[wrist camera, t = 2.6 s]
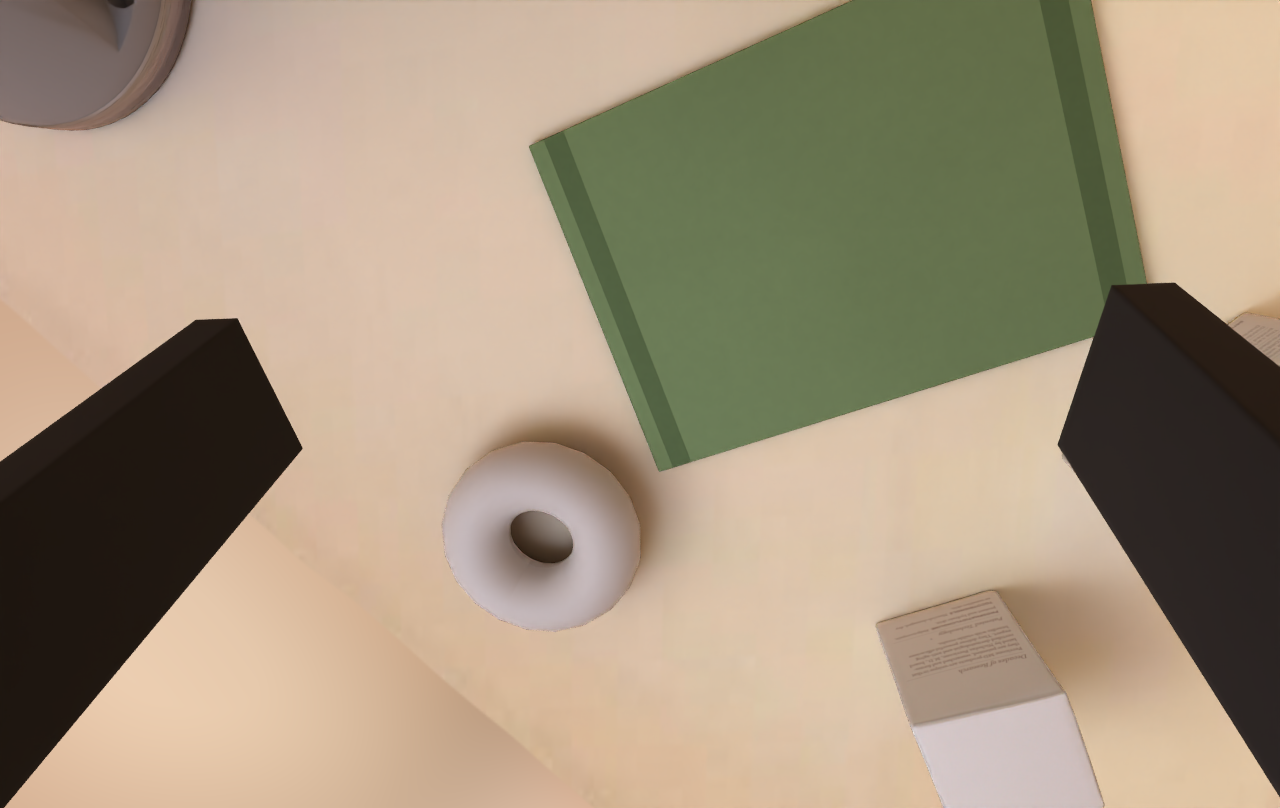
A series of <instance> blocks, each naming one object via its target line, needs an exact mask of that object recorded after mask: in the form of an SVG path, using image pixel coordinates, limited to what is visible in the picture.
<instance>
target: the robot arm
mask: <svg viewBox="0 0 1280 808" xmlns="http://www.w3.org/2000/svg"><path fill="white" fill-rule="evenodd" d="M190 5H191V0H0V120H2V121H5V122H9V123H12V124H18V125H23V126H30V127H39V128H48V129H57V130H71V131H72V130H87V129H93V128H98V127H102V126H105V125H108V124H111V123H114V122H116V121H118V120H120V119H122V118H124V117H126V116H128V115H129V114H131V113H132V112H134V111H135V110H137V109H138V108H139V107H140V106H142V105H143V104H144V103H145V102H146V101H147V100H148V99H149V98H150V97H151V96H152V95H153V94H154V93H155V92H156V91H157V90H158V88H159V87H160V85H161V84H162V83H163V81H164V80H165V79H166V77H167V75H168V73H169V72H170V70H171V68H172V66H173V65H174V62H175V60H176V58H177V56H178V53H179V51H180V48H181V45H182V42H183V39H184V36H185V32H186V28H187V23H188V19H189V12H190ZM1058 446H1059V448H1060V449H1061V451H1062V453H1063V454H1064V456H1065V457H1066V459H1067V461H1068V462H1069V464H1070V465H1071V467H1072V468H1073V470H1074V472H1075V473H1076V475H1077V476H1078V478H1079V480H1080V481H1081V483H1082V484H1083V486H1084V487H1085V489H1086V491H1087V492H1088V494H1089V495H1090V497H1091V499H1092V500H1093V502H1094V503H1095V505H1096V507H1097V508H1098V510H1099V511H1100V513H1101V514H1102V516H1103V518H1104V519H1105V521H1106V522H1107V524H1108V526H1109V527H1110V529H1111V530H1112V532H1113V533H1114V535H1115V537H1116V538H1117V540H1118V541H1119V543H1120V545H1121V546H1122V548H1123V549H1124V551H1125V553H1126V554H1127V556H1128V557H1129V559H1130V560H1131V562H1132V564H1133V565H1134V567H1135V568H1136V570H1137V572H1138V573H1139V575H1140V576H1141V578H1142V579H1143V581H1144V583H1145V584H1146V586H1147V587H1148V589H1149V591H1150V592H1151V594H1152V595H1153V597H1154V599H1155V600H1156V602H1157V603H1158V605H1159V606H1160V608H1161V610H1162V611H1163V613H1164V614H1165V616H1166V618H1167V619H1168V621H1169V622H1170V624H1171V625H1172V627H1173V629H1174V630H1175V632H1176V633H1177V635H1178V637H1179V638H1180V640H1181V641H1182V643H1183V645H1184V646H1185V648H1186V649H1187V651H1188V652H1189V654H1190V656H1191V657H1192V659H1193V660H1194V662H1195V664H1196V665H1197V667H1198V668H1199V670H1200V671H1201V673H1202V675H1203V676H1204V678H1205V679H1206V681H1207V683H1208V684H1209V686H1210V687H1211V689H1212V691H1213V692H1214V694H1215V695H1216V697H1217V698H1218V700H1219V702H1220V703H1221V705H1222V706H1223V708H1224V710H1225V711H1226V713H1227V714H1228V716H1229V717H1230V719H1231V721H1232V722H1233V724H1234V725H1235V727H1236V729H1237V730H1238V732H1239V733H1240V735H1241V737H1242V738H1243V740H1244V741H1245V743H1246V744H1247V746H1248V748H1249V749H1250V751H1251V752H1252V754H1253V756H1254V757H1255V759H1256V760H1257V762H1258V763H1259V765H1260V767H1261V768H1262V770H1263V771H1264V773H1265V775H1266V776H1267V778H1268V779H1269V781H1270V783H1271V784H1272V786H1273V787H1274V789H1275V790H1276V792H1277V794H1278V795H1279V797H1280V366H1278V365H1277V364H1276V363H1275V362H1273V361H1272V360H1271V359H1270V358H1268V357H1267V356H1266V355H1265V354H1263V353H1262V352H1261V351H1260V350H1258V349H1257V348H1256V347H1255V346H1253V345H1252V344H1251V343H1250V342H1248V341H1247V340H1246V339H1245V338H1243V337H1242V336H1241V335H1240V334H1238V333H1237V332H1236V331H1235V330H1233V329H1232V328H1231V327H1230V326H1228V325H1227V324H1226V323H1225V322H1223V321H1222V320H1221V319H1220V318H1218V317H1217V316H1216V315H1214V314H1213V313H1212V312H1211V311H1209V310H1208V309H1207V308H1206V307H1204V306H1203V305H1202V304H1201V303H1199V302H1198V301H1197V300H1196V299H1194V298H1193V297H1192V296H1191V295H1189V294H1188V293H1187V292H1186V291H1184V290H1183V289H1182V288H1181V287H1179V286H1178V285H1177V284H1176V283H1154V284H1128V285H1111V288H1110V291H1109V294H1108V297H1107V300H1106V303H1105V306H1104V309H1103V312H1102V315H1101V318H1100V321H1099V324H1098V327H1097V329H1096V332H1095V335H1094V338H1093V341H1092V344H1091V347H1090V350H1089V353H1088V356H1087V359H1086V362H1085V365H1084V368H1083V371H1082V374H1081V377H1080V380H1079V383H1078V386H1077V389H1076V392H1075V395H1074V398H1073V401H1072V404H1071V407H1070V409H1069V412H1068V415H1067V418H1066V421H1065V424H1064V427H1063V430H1062V433H1061V436H1060V439H1059V442H1058ZM302 449H303V448H302V446H301V444H300V442H299V440H298V438H297V436H296V434H295V432H294V430H293V428H292V426H291V424H290V422H289V420H288V418H287V416H286V414H285V412H284V410H283V408H282V406H281V404H280V402H279V400H278V398H277V396H276V394H275V392H274V390H273V388H272V386H271V384H270V382H269V380H268V378H267V376H266V374H265V372H264V370H263V368H262V366H261V364H260V362H259V360H258V359H257V357H256V355H255V353H254V351H253V349H252V347H251V345H250V343H249V341H248V339H247V337H246V335H245V333H244V331H243V329H242V327H241V325H240V323H239V321H238V319H237V318H234V319H208V320H195V321H194V322H192V323H191V324H190V325H188V326H187V327H186V328H184V329H183V330H181V331H180V332H179V333H177V334H176V335H175V336H173V337H172V338H170V339H169V340H168V341H166V342H165V343H163V344H162V345H161V346H159V347H158V348H157V349H155V350H154V351H152V352H151V353H150V354H148V355H147V356H146V357H144V358H143V359H141V360H140V361H139V362H137V363H136V364H134V365H133V366H132V367H130V368H129V369H128V370H126V371H125V372H123V373H122V374H121V375H119V376H118V377H117V378H115V379H114V380H112V381H111V382H110V383H108V384H107V385H105V386H104V387H103V388H101V389H100V390H99V391H97V392H96V393H95V394H93V395H92V396H90V397H89V398H88V399H86V400H85V401H84V402H82V403H81V404H79V405H78V406H77V407H75V408H74V409H72V410H71V411H70V412H68V413H67V414H66V415H64V416H63V417H61V418H60V419H59V420H57V421H56V422H54V423H53V424H52V425H50V426H49V427H48V428H46V429H45V430H43V431H42V432H41V433H40V434H38V435H36V436H35V437H34V438H33V439H31V440H30V441H28V442H27V443H25V444H24V445H23V446H21V447H20V448H19V449H17V450H16V451H15V452H13V453H12V454H10V455H9V456H7V457H6V458H5V459H3V460H2V461H1V462H0V808H4V807H5V806H6V805H7V803H8V802H9V801H10V800H11V798H12V797H13V796H14V795H15V794H16V793H17V791H18V790H19V789H20V788H21V787H22V785H23V784H24V783H25V782H26V781H27V779H28V778H29V777H30V776H31V774H32V773H33V772H34V771H35V770H36V769H37V767H38V766H39V765H40V764H41V763H42V761H43V760H44V759H45V757H47V755H48V754H49V753H50V752H51V751H52V749H53V748H54V747H55V746H56V745H57V743H58V742H59V741H60V740H61V739H62V737H63V736H64V735H65V734H66V732H67V731H68V730H69V729H70V728H71V726H72V725H73V724H74V723H75V722H76V721H77V719H78V718H79V717H80V716H81V715H82V713H83V712H84V711H85V710H86V708H87V707H88V706H89V705H90V704H91V702H92V701H93V700H94V699H95V698H96V696H97V695H98V694H99V693H100V692H101V690H102V689H103V688H104V687H105V686H106V684H107V683H108V682H109V681H110V680H111V678H112V677H113V676H114V675H115V674H116V672H117V671H118V670H119V669H120V668H121V666H122V665H123V664H124V663H125V661H126V660H127V659H128V658H129V657H130V656H131V654H132V653H133V652H134V650H136V648H137V647H138V646H139V645H140V644H141V642H142V641H143V640H144V638H146V636H147V635H148V634H149V633H150V631H151V630H152V629H153V628H154V627H155V626H156V624H157V623H158V622H159V621H160V620H161V618H162V617H163V616H164V615H165V614H166V612H167V611H168V610H169V609H170V607H171V606H172V605H173V604H174V603H175V601H176V600H177V599H178V598H179V597H180V595H181V594H182V593H183V592H184V591H185V589H186V588H187V587H188V586H189V584H190V583H191V582H192V581H193V580H194V579H195V577H196V576H197V575H198V574H199V573H200V571H201V570H202V569H203V568H204V567H205V565H206V564H207V563H208V562H209V560H210V559H211V558H212V557H213V556H214V555H215V553H216V552H217V551H218V550H219V549H220V547H221V546H222V545H223V544H224V543H225V541H226V540H227V539H228V538H229V536H230V535H231V534H232V533H233V532H234V531H235V529H236V528H237V527H238V526H239V525H240V523H241V522H242V521H243V520H244V519H245V517H246V516H247V515H248V514H249V513H250V511H251V510H252V509H253V508H254V507H255V505H256V504H257V503H258V502H259V500H260V499H261V498H262V497H263V496H264V494H265V493H266V492H267V491H268V490H269V488H270V487H271V486H272V485H273V484H274V482H275V481H276V480H277V479H278V478H279V476H280V475H281V474H282V473H283V472H284V470H285V469H286V468H287V467H288V466H289V464H290V463H291V462H292V461H293V460H294V458H295V457H296V456H297V455H298V454H299V452H300V451H301V450H302Z"/></svg>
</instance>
